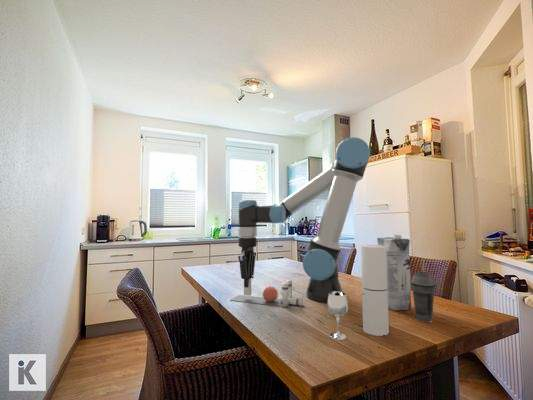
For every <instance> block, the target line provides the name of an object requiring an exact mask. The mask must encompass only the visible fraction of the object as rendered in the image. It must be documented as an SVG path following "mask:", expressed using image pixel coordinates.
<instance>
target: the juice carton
mask: <svg viewBox="0 0 533 400" xmlns="http://www.w3.org/2000/svg"><path fill="white" fill-rule="evenodd" d="M376 242H377V245H381V246H386V253H387V289H388V309H390V310H392V311H395V312H397V311H408V309H409V310H411V309H412V295H411V294H412V291H411V290H412V287H411V264H410V263H411V262H410V243H411V239H410V238H402V234H400V235H399V234H393V236H392V237H390V236H389V237H387V236H386V237H377V241H376Z"/></svg>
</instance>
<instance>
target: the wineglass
mask: <svg viewBox="0 0 533 400" xmlns="http://www.w3.org/2000/svg"><path fill="white" fill-rule="evenodd" d="M326 305H327V311H328V312H329V314H331V315H332V316H333V317H336V318H335V322H336V332H332V333H330V335H329V336H330V338H331V339H333V340H337V341H343V340H346V339H347V336H346V335H345V334H344V333H341V332H340V326H339V325H340V320H341V319H340V317H343V316H345V315H347V313H348V310H349V301H348V298H347V294H346V293H345V292H344V291H342V292H339V291H332V292H329V295H328V301H327V304H326Z"/></svg>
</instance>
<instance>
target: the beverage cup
mask: <svg viewBox="0 0 533 400" xmlns="http://www.w3.org/2000/svg"><path fill="white" fill-rule="evenodd" d="M410 286H411V290H412V296H413V304H414V312H415V318H417V319H418V320H417V319H416V320H417V321H419V320H420V321H419V322H422V321H424V322H423V323H431V322H430V321H432V322H433V316H434V298H435V296H434V295H435V291H436V286H437V285H436V281H435V279H434V277H433V276H432V275H431V274H430V273H429V272H426V271H425V258H422V271H417V272H416V273H414V274H413V275H412V277H411V278H410Z"/></svg>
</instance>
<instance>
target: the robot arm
mask: <svg viewBox="0 0 533 400" xmlns="http://www.w3.org/2000/svg"><path fill="white" fill-rule="evenodd" d="M370 157H371V150H370V147H369V145H368V143H367V142H366V141H365V140H364V139H362V138H359V137H354V136H351V137H347V138H345V139H343V140H342V141H340V142H339V144H338V145H337V146H336V149H335V158H334V160H333V162H331V163H330V165H329V167H328V168H327V169H325V170H324V171H322V172H321V173H320V174H318V175H317V176H315V177H314V178H313V179H311V180H310V181H309V182H307V183H306V184H304V185H303V186H301V187H300V188H299V189H297V190H296V191H294V192H293V193H291V194H290V195H289V196H287V197H286V198H285V199H283V200H282V201H281V202H279V203H277V204H276V203H275V204H258V202H257V200H255V199H243V200H240V201H239V202H238V212H237V213H238V230H237V231H238V236H239V238H238V247H239V248H241V251H240V252H241V254H240V255H238V257H237V258H238V262H239V269H240V270H239V271H240V278H241V279H242V280H243V295H245V296H252V279H254V278H255V276H254V275H255V267H256V265H255V264H256V257H257V252H256V251H255V250H254V248H255V247H258V245H257V244H258V243H257V239H258V238H257V235H258V233H257V232H258V231H257V229H258V227H257V224H260V223H261V224H282V223H284V222H286V221H287V220H288V219H289V218H290V217H291V216H293V214H296V212H298V211H300V210H301V209H303V208H304V207H305V206H307V205H308V204H310V203H311V202H312V201H314V200H316V199H318V197H320V196H322V195H323V194H325V193H326V192H327V191H329V193H328V196H327V199H326V202H325V206H324V209H323V213H322V216H321V219H320V222H319V226H318V228H317V233H316V236H314V237H311V239H310V242H309V245H308V248H307V251H306V253H305V254H304V256H303V259H302V267H303V271H304V272H305V273H306V275H307V276H308V277H309V281H308V284H307V288H306V297H307V298H308V299H310V300H313V301H317V302H327V301H328V295H329V292H332V291H339V292H343V289H342V287H341V286H342V285H341V283H340V281H339V280H340V279H339V256H340V253H341V250H342V249H341V248H342V247H341V246H340V244H339V242H340V239H341V235H342V232H343V230H344V229H343V228H344V225H345V222H346V218H347V216H348V213H349V210H350V205H351V202H352V199H353V197H354V194H355V190H356V187H357V183H358V182H359V181H361V180H363V178H364V174H365V171H366V169H367V168H366V167H367V165H368V163H369V160H370Z"/></svg>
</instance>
